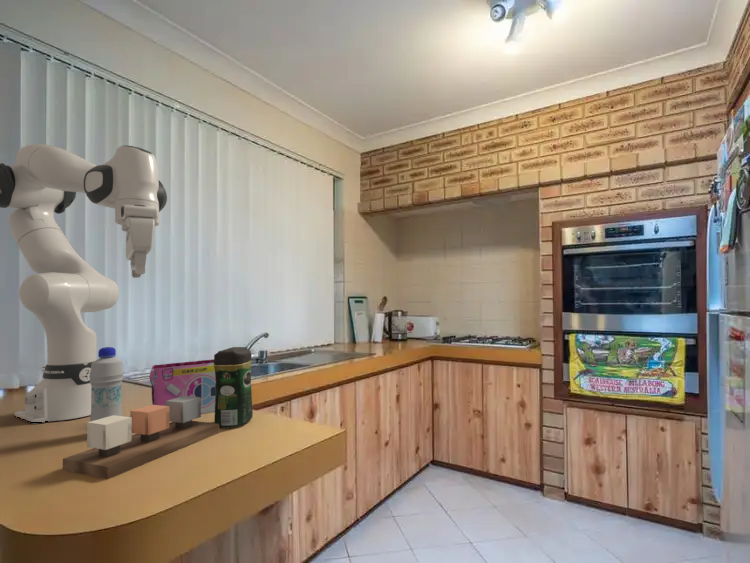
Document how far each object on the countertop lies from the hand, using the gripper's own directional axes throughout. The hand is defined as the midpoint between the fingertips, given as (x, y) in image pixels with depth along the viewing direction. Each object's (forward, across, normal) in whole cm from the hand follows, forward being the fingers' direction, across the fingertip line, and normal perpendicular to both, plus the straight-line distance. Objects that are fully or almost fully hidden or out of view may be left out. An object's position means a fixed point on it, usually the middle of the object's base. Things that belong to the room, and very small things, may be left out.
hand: (138, 275), depth 94 cm
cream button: (+33, +15, -6) cm, 36 cm away
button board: (+36, +10, +1) cm, 38 cm away
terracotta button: (+33, +10, +1) cm, 34 cm away
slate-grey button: (+33, +6, +8) cm, 34 cm away
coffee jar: (+37, +3, +20) cm, 42 cm away
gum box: (+36, -16, +16) cm, 43 cm away
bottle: (+36, -8, -6) cm, 38 cm away
